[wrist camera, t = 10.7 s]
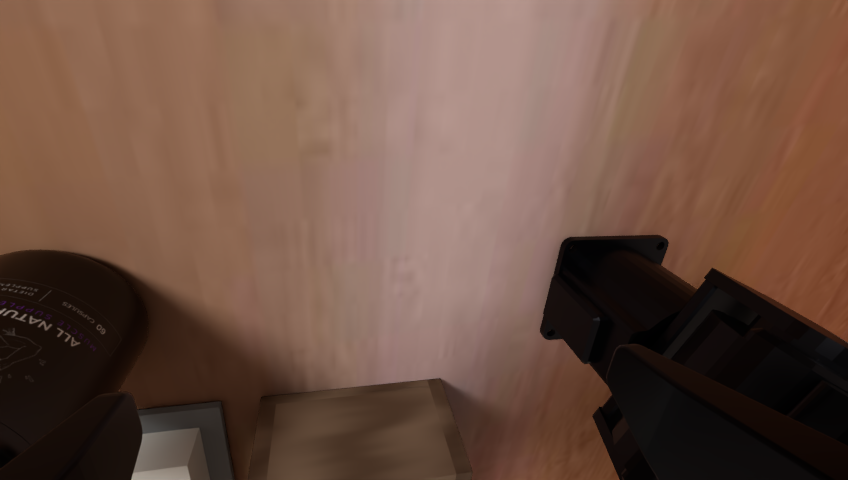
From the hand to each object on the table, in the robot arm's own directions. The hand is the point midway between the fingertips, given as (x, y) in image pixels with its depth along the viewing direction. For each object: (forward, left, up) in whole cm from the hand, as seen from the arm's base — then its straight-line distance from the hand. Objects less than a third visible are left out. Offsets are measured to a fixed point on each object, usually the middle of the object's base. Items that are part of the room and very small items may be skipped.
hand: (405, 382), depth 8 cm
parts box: (0, +17, -12) cm, 21 cm away
